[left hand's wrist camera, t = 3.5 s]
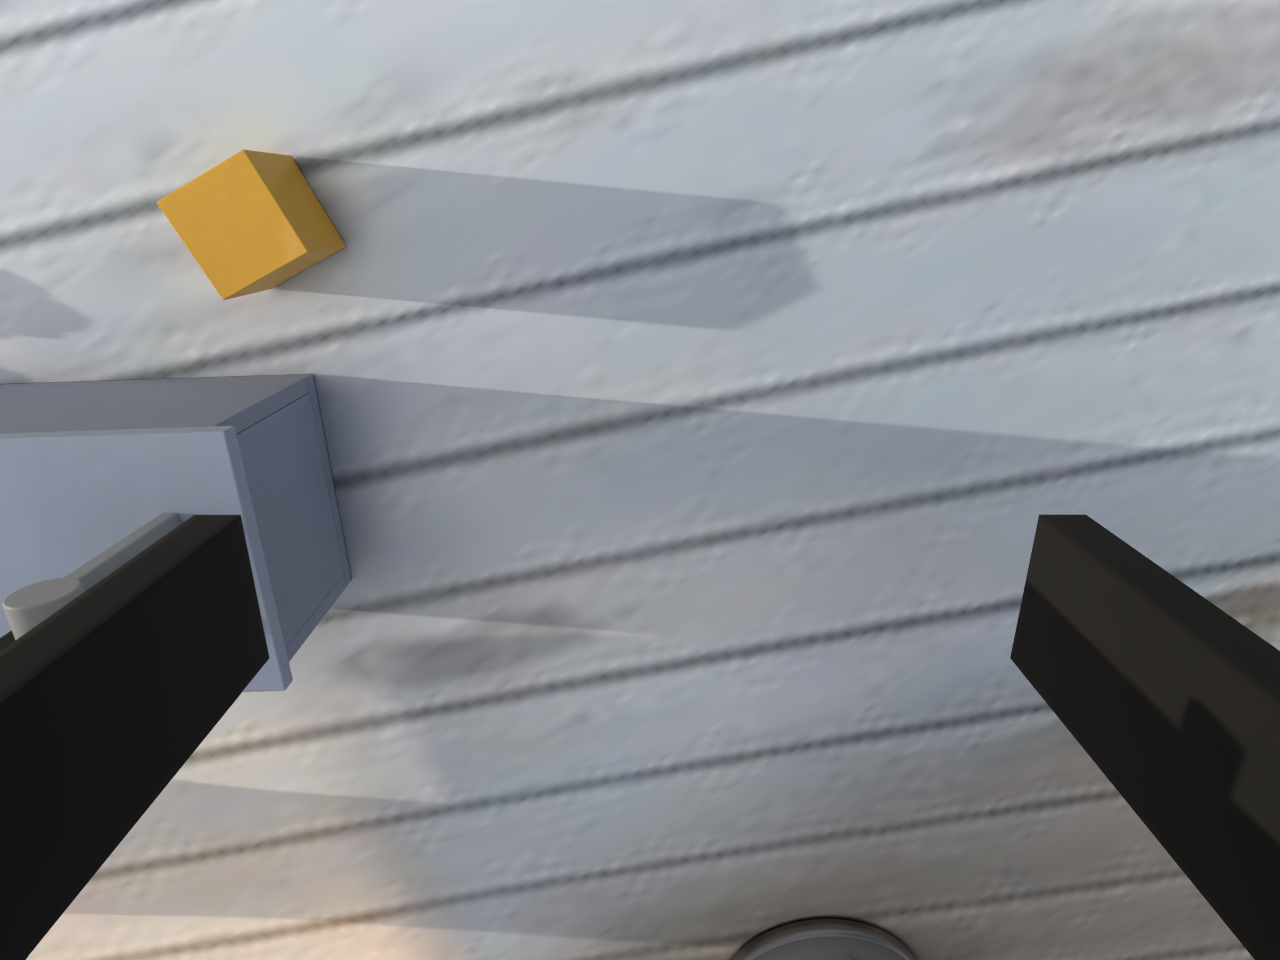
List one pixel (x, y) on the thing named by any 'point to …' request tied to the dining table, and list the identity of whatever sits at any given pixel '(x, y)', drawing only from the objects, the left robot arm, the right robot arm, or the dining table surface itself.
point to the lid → (116, 516)
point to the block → (252, 222)
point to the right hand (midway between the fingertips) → (154, 598)
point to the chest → (271, 454)
